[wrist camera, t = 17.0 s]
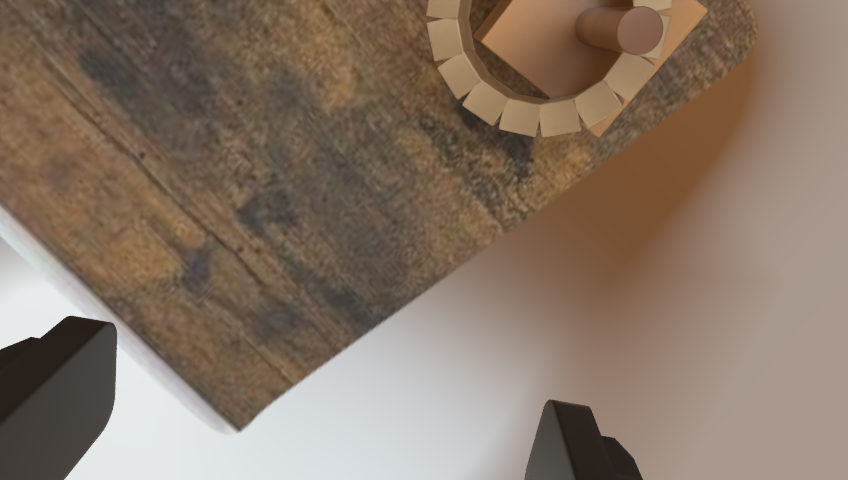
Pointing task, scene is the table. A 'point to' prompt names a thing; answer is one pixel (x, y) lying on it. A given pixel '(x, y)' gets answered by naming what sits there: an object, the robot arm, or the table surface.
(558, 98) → the ring
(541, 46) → the post
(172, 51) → the table surface
